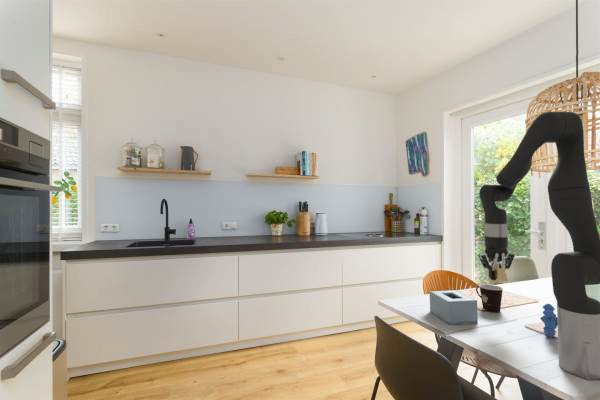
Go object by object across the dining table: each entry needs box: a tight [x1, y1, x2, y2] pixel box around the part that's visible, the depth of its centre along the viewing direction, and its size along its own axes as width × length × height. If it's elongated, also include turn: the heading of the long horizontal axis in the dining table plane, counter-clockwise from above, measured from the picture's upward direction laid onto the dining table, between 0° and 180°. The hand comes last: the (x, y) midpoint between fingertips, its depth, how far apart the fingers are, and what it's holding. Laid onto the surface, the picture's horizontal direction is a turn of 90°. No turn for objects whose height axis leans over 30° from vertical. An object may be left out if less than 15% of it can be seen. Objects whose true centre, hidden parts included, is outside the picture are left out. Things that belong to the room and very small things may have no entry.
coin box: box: [429, 289, 479, 325], centre depth 123 cm, size 14×12×9 cm
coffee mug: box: [475, 284, 504, 314], centre depth 132 cm, size 12×9×10 cm
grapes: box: [540, 303, 558, 338], centre depth 103 cm, size 12×7×12 cm, turn 142°
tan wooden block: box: [486, 267, 509, 285], centre depth 114 cm, size 6×3×5 cm, turn 4°
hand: (496, 279), depth 115 cm, fingers closed on tan wooden block, 2 cm apart
